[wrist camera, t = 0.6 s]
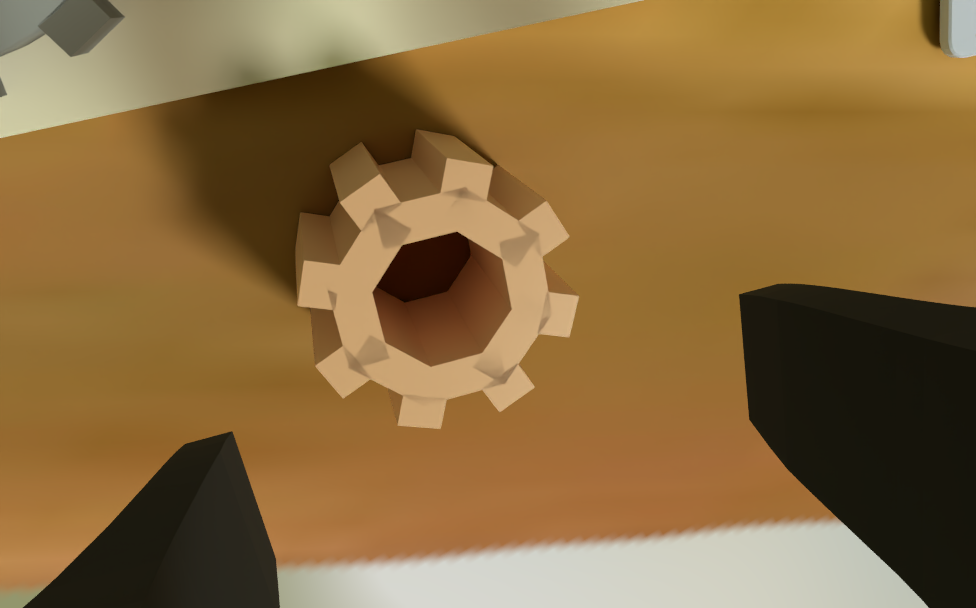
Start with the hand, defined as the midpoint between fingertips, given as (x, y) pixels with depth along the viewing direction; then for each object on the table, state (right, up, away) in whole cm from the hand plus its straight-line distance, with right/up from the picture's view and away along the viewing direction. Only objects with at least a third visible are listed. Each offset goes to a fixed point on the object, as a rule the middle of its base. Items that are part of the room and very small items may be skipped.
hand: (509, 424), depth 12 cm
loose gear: (-2, +3, +9) cm, 9 cm away
